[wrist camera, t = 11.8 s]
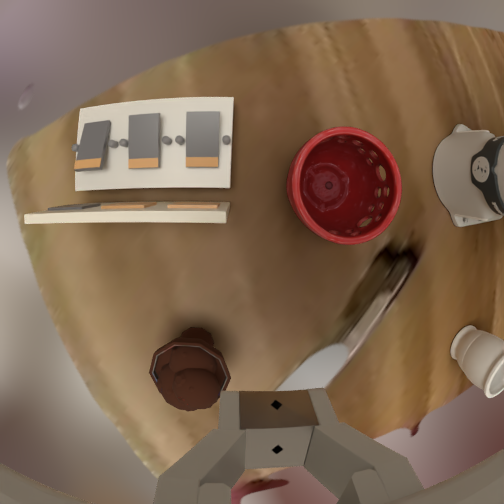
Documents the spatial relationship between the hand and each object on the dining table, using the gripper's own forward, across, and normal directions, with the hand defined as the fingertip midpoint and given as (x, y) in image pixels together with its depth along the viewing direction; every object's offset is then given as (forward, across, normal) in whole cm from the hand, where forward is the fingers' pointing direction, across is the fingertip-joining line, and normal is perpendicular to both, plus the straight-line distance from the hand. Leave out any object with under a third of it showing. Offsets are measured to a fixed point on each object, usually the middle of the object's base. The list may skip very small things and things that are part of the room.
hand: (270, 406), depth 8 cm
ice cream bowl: (+35, +7, +18) cm, 40 cm away
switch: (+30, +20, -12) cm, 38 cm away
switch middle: (+30, +13, -12) cm, 34 cm away
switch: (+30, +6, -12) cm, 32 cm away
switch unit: (+35, +13, -10) cm, 39 cm away
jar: (+35, -48, +22) cm, 63 cm away
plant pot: (+35, -11, -7) cm, 38 cm away
